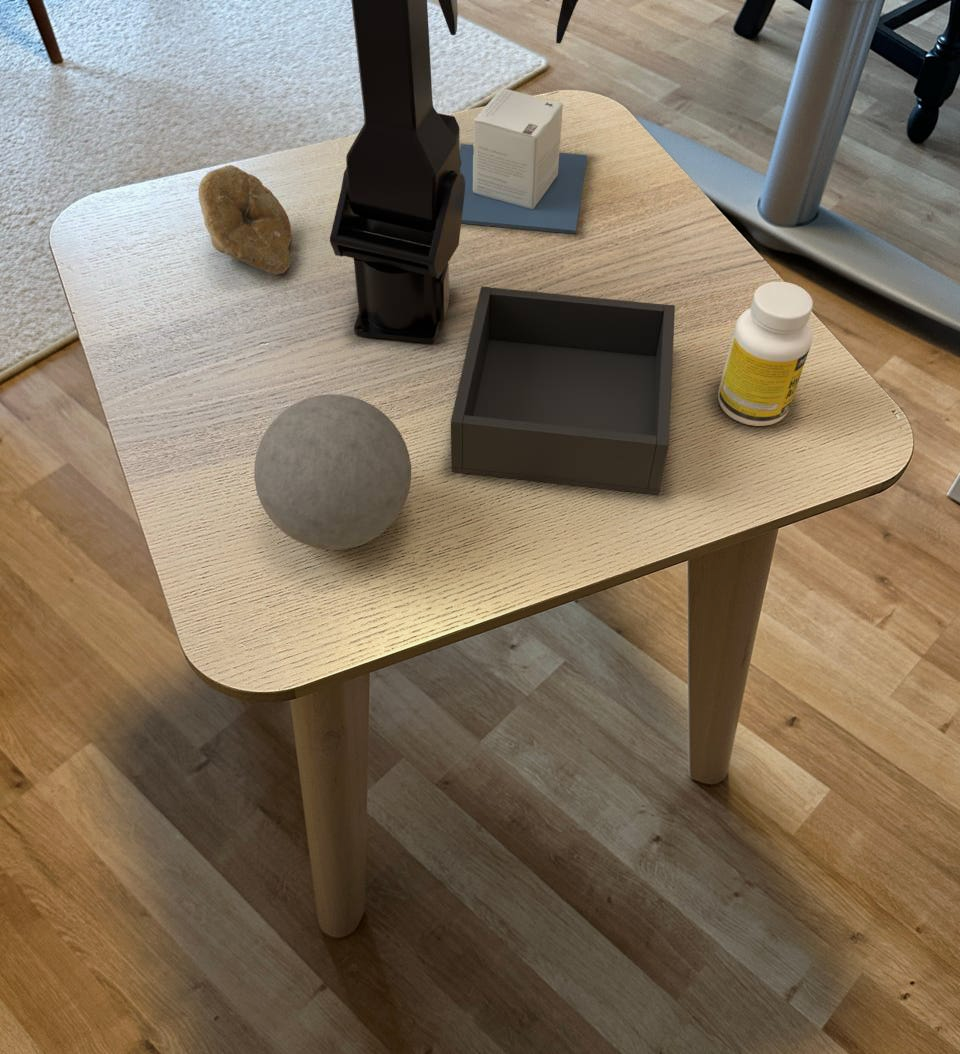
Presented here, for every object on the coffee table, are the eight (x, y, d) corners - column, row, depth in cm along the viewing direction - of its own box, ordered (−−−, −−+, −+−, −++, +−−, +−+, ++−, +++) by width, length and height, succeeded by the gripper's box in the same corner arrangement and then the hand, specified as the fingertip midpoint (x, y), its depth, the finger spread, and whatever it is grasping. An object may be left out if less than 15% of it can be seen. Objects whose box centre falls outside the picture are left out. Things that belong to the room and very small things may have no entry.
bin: (451, 471, 76) (450, 421, 72) (480, 336, 85) (481, 286, 82) (658, 495, 75) (668, 445, 71) (665, 355, 84) (675, 305, 80)
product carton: (498, 160, 101) (500, 85, 95) (559, 176, 99) (564, 101, 93) (471, 194, 97) (471, 118, 91) (533, 211, 96) (537, 135, 90)
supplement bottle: (789, 433, 79) (823, 330, 71) (714, 422, 80) (740, 318, 72) (790, 383, 82) (823, 279, 75) (719, 373, 83) (744, 269, 75)
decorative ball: (415, 467, 77) (409, 360, 69) (412, 580, 70) (406, 477, 62) (274, 468, 76) (252, 362, 69) (258, 582, 70) (233, 478, 62)
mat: (440, 221, 95) (440, 217, 95) (461, 147, 103) (461, 143, 102) (575, 234, 94) (576, 230, 94) (586, 158, 102) (587, 154, 101)
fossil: (207, 238, 84) (202, 144, 88) (177, 269, 86) (174, 177, 91) (301, 281, 90) (292, 191, 94) (271, 309, 92) (264, 220, 97)
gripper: (369, -133, 78) (382, 75, 90) (629, -116, 76) (607, 93, 88) (398, -187, 85) (407, 12, 97) (637, -173, 83) (615, 28, 95)
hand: (506, 37), depth 94 cm, fingers open, 9 cm apart
